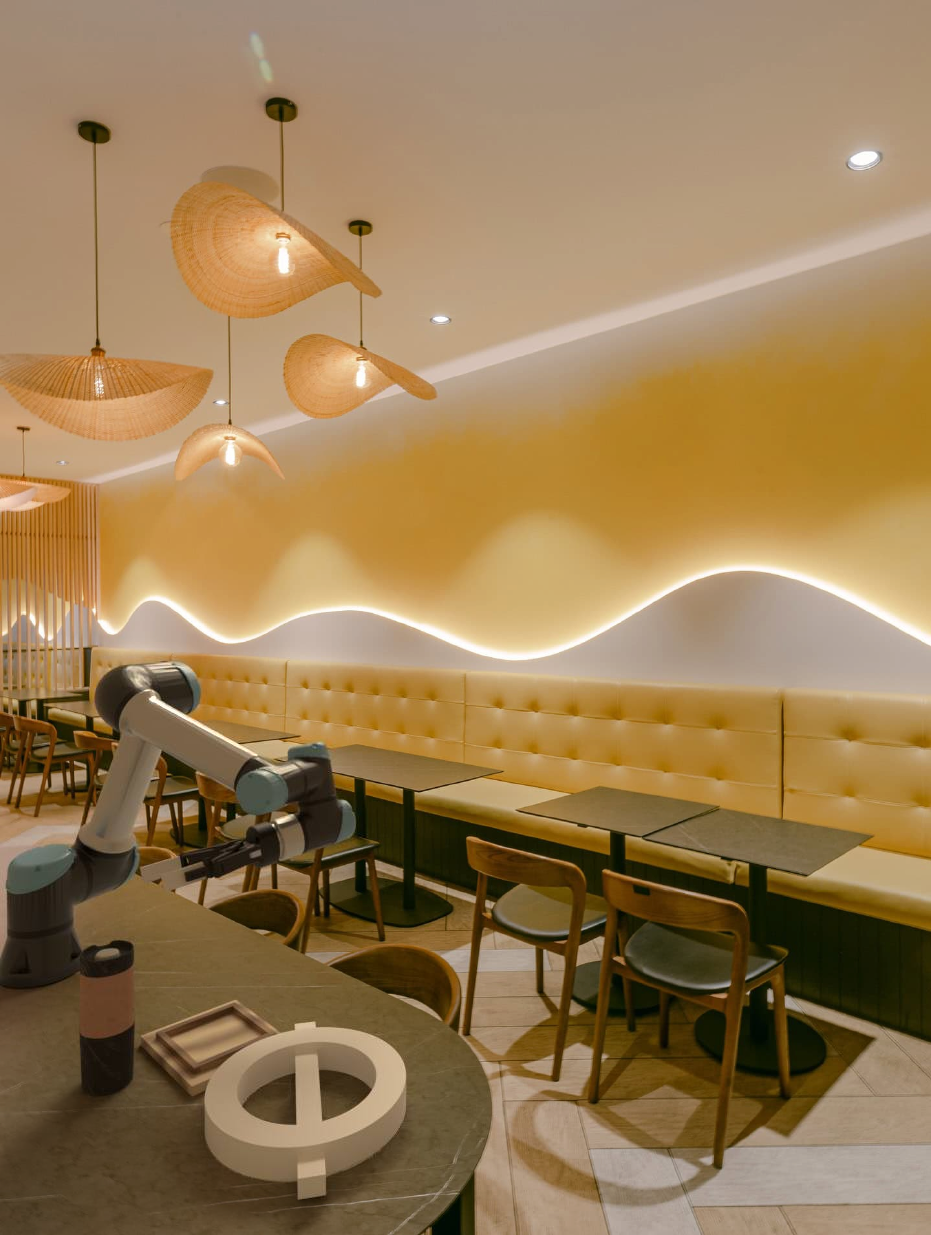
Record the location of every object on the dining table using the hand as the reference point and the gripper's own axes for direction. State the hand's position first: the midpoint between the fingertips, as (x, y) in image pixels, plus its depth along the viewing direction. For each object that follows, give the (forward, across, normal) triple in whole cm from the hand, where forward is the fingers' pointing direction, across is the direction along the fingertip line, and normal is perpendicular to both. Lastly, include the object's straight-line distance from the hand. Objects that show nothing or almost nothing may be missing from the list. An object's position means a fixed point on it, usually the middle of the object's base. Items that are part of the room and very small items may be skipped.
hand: (151, 879), depth 127 cm
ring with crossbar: (-10, -25, -34) cm, 44 cm away
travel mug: (+11, -1, -27) cm, 29 cm away
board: (-5, -2, -29) cm, 29 cm away
